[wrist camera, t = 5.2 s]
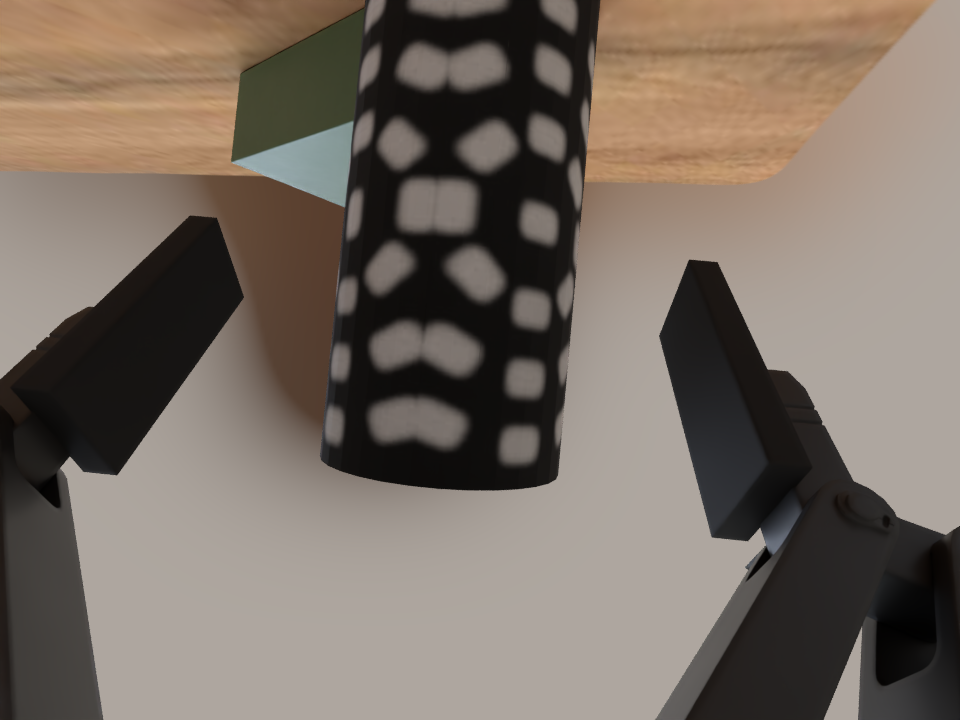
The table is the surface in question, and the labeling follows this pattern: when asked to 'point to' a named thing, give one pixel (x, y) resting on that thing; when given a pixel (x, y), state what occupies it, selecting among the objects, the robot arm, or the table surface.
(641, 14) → the table surface
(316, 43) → the block
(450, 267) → the spotted tube
